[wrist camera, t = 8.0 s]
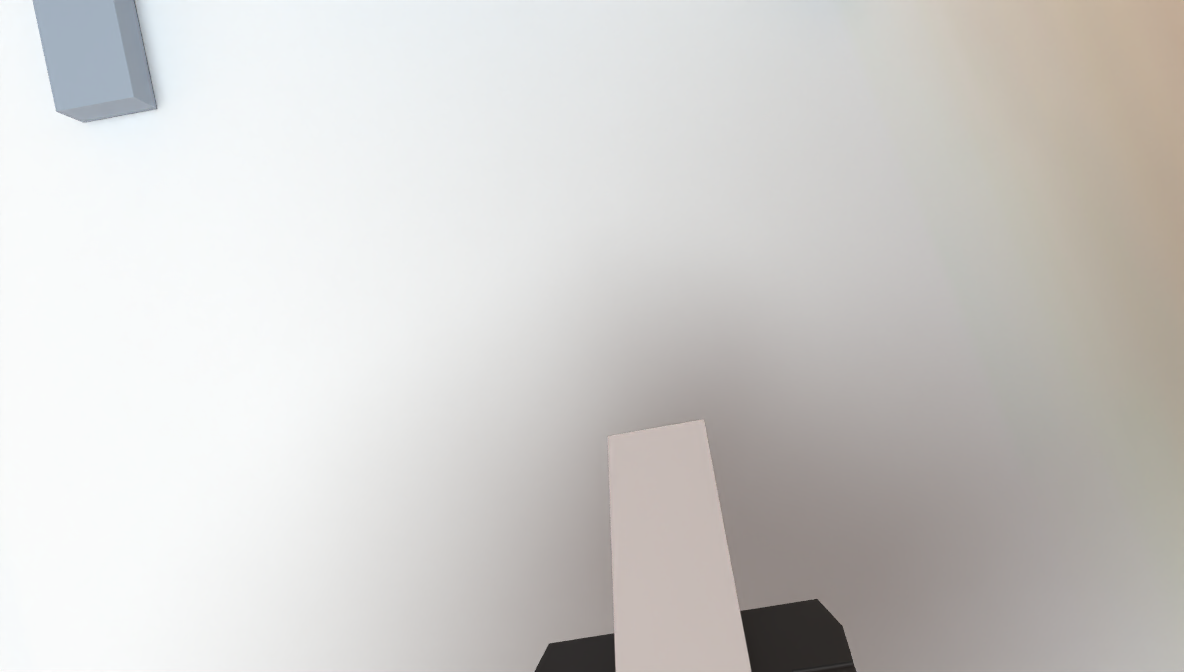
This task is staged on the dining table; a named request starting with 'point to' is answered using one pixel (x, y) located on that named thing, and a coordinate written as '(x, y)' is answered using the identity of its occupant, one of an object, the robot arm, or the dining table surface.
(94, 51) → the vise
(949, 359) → the dining table surface
